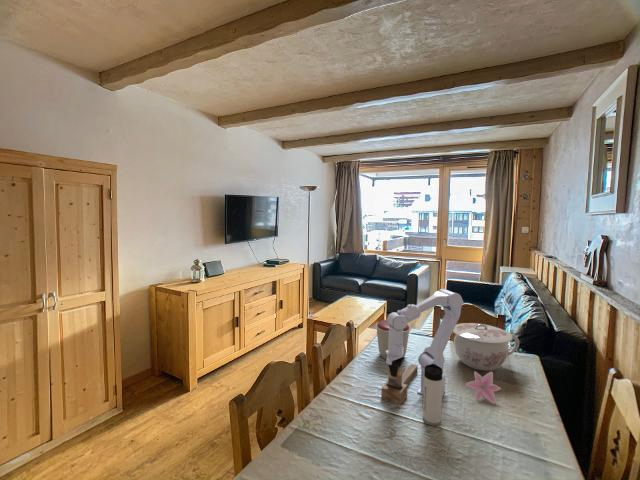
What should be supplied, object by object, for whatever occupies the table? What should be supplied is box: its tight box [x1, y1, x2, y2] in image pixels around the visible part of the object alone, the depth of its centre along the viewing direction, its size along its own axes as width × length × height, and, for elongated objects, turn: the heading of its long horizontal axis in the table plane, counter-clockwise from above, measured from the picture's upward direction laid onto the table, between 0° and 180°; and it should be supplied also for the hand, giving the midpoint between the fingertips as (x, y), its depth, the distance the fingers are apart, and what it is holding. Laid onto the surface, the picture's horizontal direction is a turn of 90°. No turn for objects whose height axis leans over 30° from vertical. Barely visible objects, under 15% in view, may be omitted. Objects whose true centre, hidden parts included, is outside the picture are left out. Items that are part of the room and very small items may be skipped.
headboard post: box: [381, 363, 418, 405], centre depth 143 cm, size 8×30×4 cm, turn 146°
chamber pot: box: [452, 322, 520, 372], centre depth 163 cm, size 28×28×21 cm
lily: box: [465, 371, 502, 405], centre depth 135 cm, size 12×12×10 cm
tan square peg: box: [387, 366, 403, 388], centre depth 134 cm, size 5×2×8 cm, turn 56°
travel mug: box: [422, 364, 444, 427], centre depth 118 cm, size 6×7×20 cm
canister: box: [375, 319, 412, 360], centre depth 172 cm, size 18×18×21 cm
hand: (394, 374), depth 134 cm, fingers closed on tan square peg, 2 cm apart
